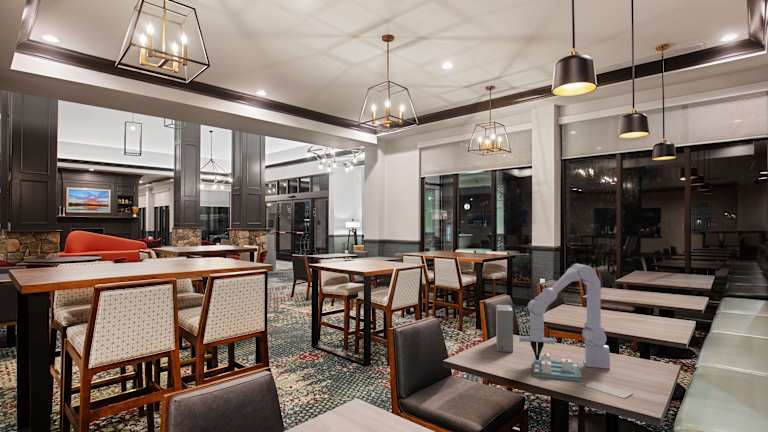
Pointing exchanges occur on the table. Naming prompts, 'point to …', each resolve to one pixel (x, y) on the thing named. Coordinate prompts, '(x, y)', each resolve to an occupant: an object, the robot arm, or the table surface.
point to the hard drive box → (504, 328)
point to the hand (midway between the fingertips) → (537, 359)
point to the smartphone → (609, 390)
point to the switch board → (557, 371)
